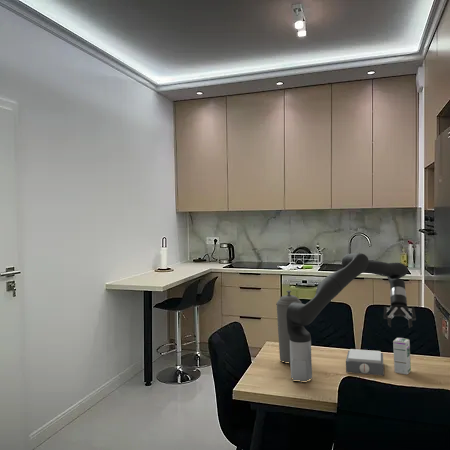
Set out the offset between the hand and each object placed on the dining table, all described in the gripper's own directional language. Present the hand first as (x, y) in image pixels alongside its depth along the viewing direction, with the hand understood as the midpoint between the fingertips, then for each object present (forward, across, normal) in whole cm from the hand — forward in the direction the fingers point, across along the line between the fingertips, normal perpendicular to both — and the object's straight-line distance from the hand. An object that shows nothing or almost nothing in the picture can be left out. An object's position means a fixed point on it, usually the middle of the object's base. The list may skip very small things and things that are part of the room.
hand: (400, 326), depth 199 cm
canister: (+19, -51, +7) cm, 55 cm away
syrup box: (+20, 0, +6) cm, 21 cm away
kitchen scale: (+19, -16, +6) cm, 26 cm away
